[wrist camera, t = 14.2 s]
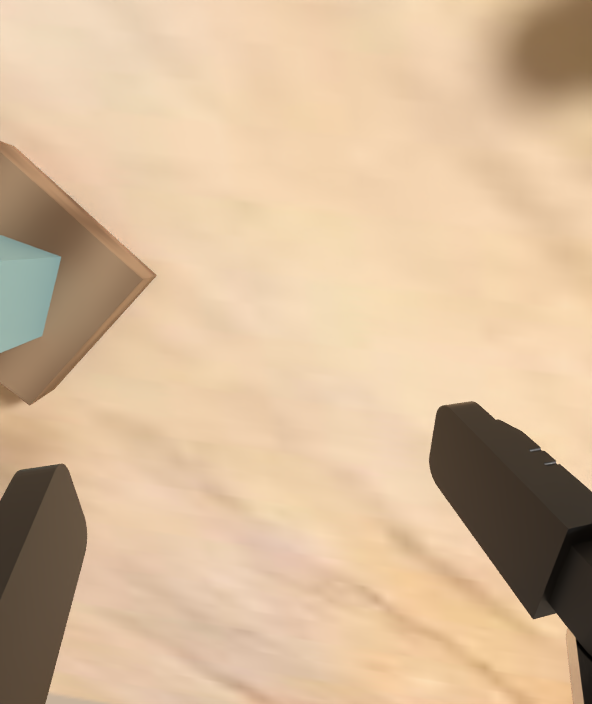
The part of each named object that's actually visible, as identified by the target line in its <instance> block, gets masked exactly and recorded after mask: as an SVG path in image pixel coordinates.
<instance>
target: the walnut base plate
mask: <svg viewBox="0 0 592 704" xmlns="http://www.w3.org/2000/svg"><path fill="white" fill-rule="evenodd" d="M0 235H2V236H5V237H8V238H11V239H13V240H16V241H19V242H22V243H24V244H27V245H30V246H33V247H36V248H38V249H41V250H44V251H47V252H49V253H52V254H55V255H58V256H61V260H60V265H59V269H58V273H57V277H56V281H55V285H54V289H53V294H52V298H51V302H50V306H49V310H48V314H47V318H46V322H45V327H44V331H43V335H42V336H41V337H39V338H36V339H34V340H31V341H29V342H26V343H24V344H21V345H19V346H16V347H14V348H11V349H9V350H7V351H4V352H2V353H0V383H1V384H2V385H3V386H5V387H6V388H7V389H9V390H10V391H11V392H13V393H14V394H15V395H17V396H18V397H19V398H21V399H22V400H23V401H24V402H26V403H27V404H28V405H31V404H33V403H34V402H36V401H37V400H39V399H40V398H42V397H43V396H45V395H46V394H48V393H49V392H51V391H52V390H54V389H55V388H56V386H57V385H58V384H59V383H60V382H61V381H62V380H63V379H64V378H65V377H66V375H67V374H68V373H69V372H70V371H71V370H72V369H73V368H74V367H75V365H76V364H77V363H78V362H79V361H80V360H81V359H82V358H83V357H84V355H85V354H86V353H87V352H88V351H89V350H90V349H91V348H92V347H93V345H94V344H95V343H96V342H97V341H98V340H99V339H100V338H101V337H102V335H103V334H104V333H105V332H106V331H107V330H108V329H109V328H110V327H111V325H112V324H113V323H114V322H115V321H116V320H117V319H118V318H119V317H120V315H121V314H122V313H123V312H124V311H125V310H126V309H127V308H128V307H129V305H130V304H131V303H132V302H133V301H134V300H135V299H136V298H137V297H138V295H139V294H140V293H141V292H142V291H143V290H144V289H145V288H146V287H147V286H148V284H149V283H150V282H151V281H152V280H153V279H154V278H155V277H156V276H157V275H156V274H154V273H153V272H152V271H151V270H150V269H149V268H148V267H147V266H146V265H145V264H143V263H142V262H141V261H140V260H139V259H138V258H137V257H136V256H135V255H133V254H132V253H131V252H130V251H129V250H128V249H127V248H126V247H125V246H124V245H122V244H121V243H120V242H119V241H118V240H117V239H116V238H115V237H114V236H113V235H111V234H110V233H109V232H108V231H107V230H106V229H105V228H104V227H103V226H102V225H100V224H99V223H98V222H97V221H96V220H95V219H94V218H93V217H92V216H90V215H89V214H88V213H87V212H86V211H85V210H84V209H83V208H82V207H81V206H79V205H78V204H77V203H76V202H75V201H74V200H73V199H72V198H71V197H70V196H68V195H67V194H66V193H65V192H64V191H63V190H62V189H61V188H60V187H58V186H57V185H56V184H55V183H54V182H53V181H52V180H51V179H50V178H49V177H47V176H46V175H45V174H44V173H43V172H42V171H41V170H40V169H39V168H38V167H36V166H35V165H34V164H33V163H32V162H31V161H30V160H29V159H28V158H27V157H25V156H24V155H23V154H22V153H21V152H20V151H19V150H18V149H17V148H15V147H14V146H12V145H9V144H6V143H4V142H1V141H0Z"/></svg>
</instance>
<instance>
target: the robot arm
mask: <svg viewBox="0 0 592 704" xmlns="http://www.w3.org/2000/svg"><path fill="white" fill-rule="evenodd" d="M429 465H430V470H431V474H432V477H433V479H434V481H435V483H436V485H437V486H438V488H439V489H440V491H441V492H442V493H443V495H444V496H445V497H446V499H447V500H448V502H449V503H450V504H451V506H452V507H453V509H454V510H455V511H456V513H457V514H458V516H459V517H460V518H461V520H462V521H463V523H464V524H465V525H466V527H467V528H468V529H469V531H470V532H471V534H472V535H473V536H474V538H475V539H476V541H477V542H478V543H479V545H480V546H481V548H482V549H483V550H484V552H485V553H486V554H487V556H488V557H489V559H490V560H491V561H492V563H493V564H494V566H495V567H496V568H497V570H498V571H499V573H500V574H501V575H502V577H503V578H504V579H505V581H506V582H507V584H508V585H509V586H510V588H511V589H512V591H513V592H514V593H515V595H516V596H517V598H518V599H519V600H520V602H521V603H522V604H523V606H524V607H525V609H526V610H527V611H528V613H529V614H530V616H531V617H532V618H533V619H536V618H540V617H544V616H548V615H551V614H555V613H557V614H558V616H559V617H560V618H561V619H562V621H563V622H564V623H565V625H566V626H567V627H568V629H567V633H566V644H567V653H568V662H569V671H570V680H571V689H572V698H573V704H592V492H591V491H590V490H589V489H588V488H587V487H586V486H585V485H583V484H582V483H581V482H580V481H579V480H578V479H576V478H575V477H574V476H573V475H572V474H571V473H570V472H568V471H567V470H566V469H565V468H564V467H563V466H561V465H560V464H558V465H557V464H556V460H554V459H553V458H552V457H551V456H550V455H549V454H548V453H546V452H545V451H541V449H540V447H539V446H538V445H537V444H536V443H535V442H534V441H533V440H531V439H530V438H529V437H528V436H527V435H526V434H524V433H523V432H522V431H520V430H518V429H516V428H514V427H512V426H511V425H509V424H507V423H505V422H503V421H501V420H495V419H494V418H493V417H492V416H491V415H490V414H489V413H488V412H486V411H485V410H484V409H483V408H482V407H481V406H480V405H479V404H477V403H476V402H472V401H471V402H464V403H457V404H450V405H444V406H441V407H439V409H438V410H437V413H436V419H435V425H434V431H433V438H432V444H431V450H430V456H429ZM86 545H87V527H86V521H85V517H84V514H83V511H82V508H81V505H80V502H79V499H78V496H77V494H76V491H75V488H74V485H73V482H72V479H71V476H70V473H69V470H68V468H67V467H66V466H65V465H64V464H57V465H50V466H43V467H37V468H30V469H23V470H19V471H18V472H17V473H16V474H15V475H14V477H13V478H12V480H11V482H10V484H9V486H8V488H7V489H6V491H5V493H4V495H3V497H2V499H1V500H0V704H45V702H46V699H47V695H48V692H49V688H50V684H51V680H52V676H53V673H54V669H55V665H56V661H57V657H58V654H59V650H60V646H61V642H62V639H63V635H64V631H65V627H66V623H67V620H68V616H69V612H70V608H71V605H72V601H73V597H74V593H75V589H76V586H77V582H78V578H79V574H80V571H81V567H82V563H83V559H84V555H85V551H86Z"/></svg>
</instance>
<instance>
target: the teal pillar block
mask: <svg viewBox="0 0 592 704" xmlns="http://www.w3.org/2000/svg"><path fill="white" fill-rule="evenodd" d="M60 260H61V256H58V255H55V254H52V253H49V252H47V251H44V250H41V249H38V248H36V247H33V246H30V245H27V244H24V243H22V242H19V241H16V240H13V239H11V238H8V237H5V236H2V235H0V353H2V352H4V351H7V350H9V349H11V348H14V347H16V346H19V345H21V344H24V343H26V342H29V341H31V340H34V339H36V338H39V337H41V336H42V335H43V331H44V327H45V322H46V318H47V314H48V310H49V306H50V302H51V298H52V294H53V289H54V285H55V281H56V277H57V273H58V269H59V265H60Z"/></svg>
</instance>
